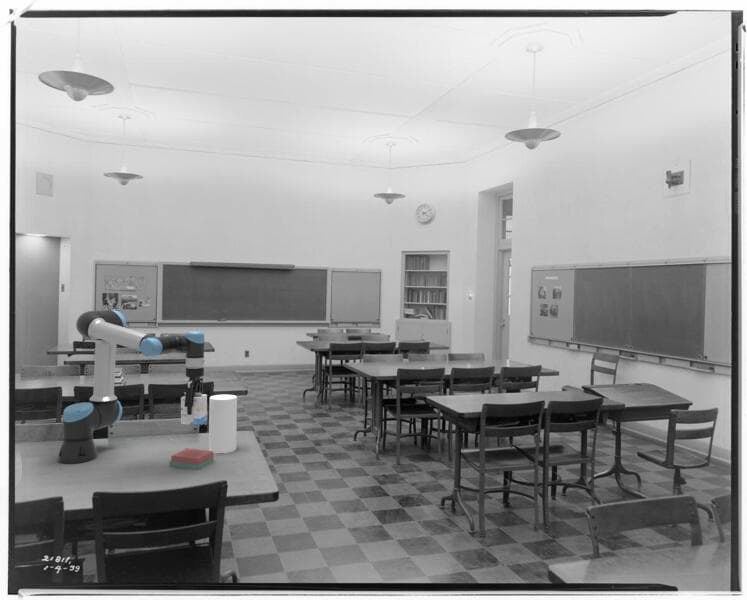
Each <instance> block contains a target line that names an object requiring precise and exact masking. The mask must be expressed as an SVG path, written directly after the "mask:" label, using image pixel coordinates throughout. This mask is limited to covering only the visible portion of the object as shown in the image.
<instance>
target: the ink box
mask: <svg viewBox="0 0 747 600" xmlns="http://www.w3.org/2000/svg"><path fill="white" fill-rule="evenodd" d="M183 394H184V396H181V397H180V424H181V425H191V426H193V425H194V426H197V425H198V426H201V425H203V424H205V422H206V421H208V394H206V393H205V394H204V393H203V394H201V393H195V397H194V402H193V407H194V422H187V407H185V396H186V391H184V392H183Z"/></svg>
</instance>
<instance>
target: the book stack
mask: <svg viewBox="0 0 747 600" xmlns="http://www.w3.org/2000/svg"><path fill="white" fill-rule="evenodd" d="M170 458H171V459H170V461H169V464H168V465H169V466H168V467H170V468H178V469H187V470H188V469H189V470H195V471H197V470H198V471H200V470H201V469H203V468H205V467H206V466H208V465H210V464H211V462H212V463H213V462H214V461H215V457H214V453H213V451H209V449H208V450H206V449H197V448H188V447H186V448H184V449H182V450H180V451H178V452H175V453H174V454H172V455H171V457H170Z"/></svg>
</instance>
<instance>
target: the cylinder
mask: <svg viewBox="0 0 747 600" xmlns="http://www.w3.org/2000/svg"><path fill="white" fill-rule="evenodd" d="M208 406H209V407H208V408H209V409H208V411H209V412H208V413H209V417H208V451H213V454H216V453H217V454H218V453H224V454H229V452H230V453H233V452H235V451H236V450H237V426H238V425H237V422H238V418H237V417H238V416H237V415H238V396H237V395H235V394H224V393H223V394H216V395H211V396H210V397H209V405H208Z"/></svg>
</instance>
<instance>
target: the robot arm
mask: <svg viewBox="0 0 747 600" xmlns="http://www.w3.org/2000/svg"><path fill="white" fill-rule="evenodd" d="M125 318H126V317H125V316H124V314H122V313H121V312H120V311H118V310H114V309H113V310H111V309H105V310H104V309H103V310H89V311H86V312H83V313H82V314H81V315H79V316H78V318H77V320H76V323H75V325H76V326H75V327H76V331H78V333H79V334H80V335H81V336H83V337H84V338H87V339H91V340H92V341H93V342H94V343H95V346H94V347H95V350H94V370H93V371H94V374H93V394H92V395H91V396H90V397H89V401H88V402H86V401H85V402H79V403H78V402H77V403H74V404H71V405H68V406H66V407H65V408H64V410H63V416H62V444H61V446H60V447H61V448H60V449H59V452H58V457H57V460H58V462H59V461H60V462H59V463H61V462H62V464H80V463H85V462H89V461H92V460H94V459H96V458H97V457H98V450H97V447H96V444H95V441H94V431H96V430H100V429H103V428H106V427H110V426H112V425H115V424H117V423H118V421H120V419H121V418H122V415H123V406H122V404H121V401H119V400H118V397H117V396H116V394H115V380H116V379H115V377H116V376H115V375H116V357H117V356H116V354H117V345H119V346H121V347H126V348H129V349H132V350H135V351H138V352H140V353H141V354H142V355H143V356H145V357H157V356H162V355H168V354H174V353H182V354H185V367H186V368H185V377H187V378H188V382H186V383H185V392H186V396H185V395H184V396H185V407H187V422H194V407H193V402H194V397H195V393H201V394H204V378H203V377H204V375H205V368H204V367H205V362H206V360H205V343H206V341H205V333H204V332H203V331H199V330H197V331H196V330H193V331H191V330H190V331H186V333H185V335H182V334H181V335H180V334H173V333H172V334H166V335H162V336H154V335H150V334H148V333H144V332H141V331H137V330H134V329H131V328H127V320H126V319H125Z"/></svg>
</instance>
